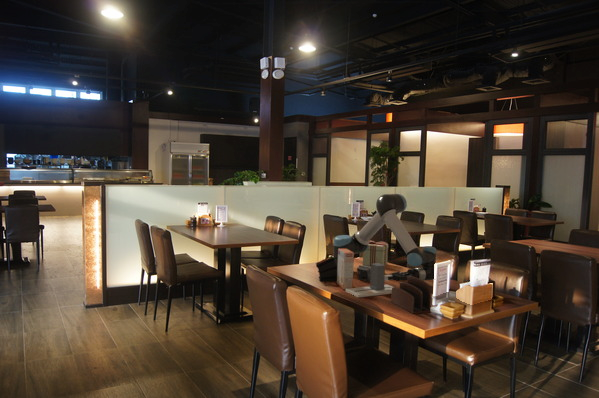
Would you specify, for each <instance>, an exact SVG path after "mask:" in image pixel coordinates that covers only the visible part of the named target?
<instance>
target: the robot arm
mask: <svg viewBox="0 0 599 398" xmlns="http://www.w3.org/2000/svg"><path fill="white" fill-rule="evenodd" d="M375 203H376V204H375V206H376V211H377V212H376V213H375V214H374V215H373V216H372V217H371V218H370V219H369V220H368V221H367V222H366V224H364V226H363V227H362V228H361V229H360V230H357V231H355V232H354V233H353V234H352V236H351V235H349V234H348V235H347V234H342V235H341V234H340V235H336V236H334V238H333V243H332V246H333V247H332V249H333V250H332V251H333V252H332V254H333V255H332V256H333V258H334V259H335V263H336V266H337V268H338V249H348V250H350V251H352V252H353V253H354V255H355V254H361V253H362V254H363V252H364V251H366V250H367V248H368V244H369V240H371V239H372V238H373V236H375V235H376V233H377V232H379V230H380V229H381V228H382V227H384V225H385V224H386V225H387V226H388V228H389V229H390V231H391V232H392V234H393V236H394V237H395V239H396V240H397V242H398V243H399V245H400V246H401V248H402V249H403V251H404V253H405V254H406V256H407V257H406V261H407V264H408V265H409V266H411V267H413V268H409V269H407V270H406V271H402V272H401V271H400V270H398V271H397V272H396V271H394V272H391V273H390V272H389V273H388V274H386V275H385V279H384V282H385V281H386V282H388V281H396V282H399V281H400V282H405V281H406V282H407V277H408V276H412V277H416V278H419V279H421V280H423V281H433V279H434V264H435V263H437V248H436V247H435V246H427V245H426V246H423V247H422V251H420V249H419V247H418V246H417V243H415V241H414V240H413V238H412V236H411V235H410V233H409V232H408V231H407V229H406V227H405V226H404V224H403V222H402V221H401V220H400V218H399V217H398V214H401V213H403V212H405V210H406V209H407V206H408V205H407V200H406V197H405V196H404V195H402V194H401V193H400V194H399V193H390V194H388V193H386V194H382V195H380V196H379V197H378V198H377V200H376V202H375ZM420 266H422V267H420ZM414 267H415V268H414ZM434 280H435V279H434Z"/></svg>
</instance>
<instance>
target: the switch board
mask: <svg viewBox="0 0 599 398" xmlns="http://www.w3.org/2000/svg"><path fill="white" fill-rule="evenodd" d="M384 287H385V289H381V290H375V289H372V288H370V287H369V286H359V287H353V288H349V289H346V290H345V293H348V294H349V293H350V294H349V295H351V294H352V295H351V296H353V295H354V297H356V298H364V297H365V298H366V297H375V296H380V295H381V296H383V295H389V294H391V295H392V288H393V287H394V286H393V285H390V284H388V283H386V284H384Z"/></svg>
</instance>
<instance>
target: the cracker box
mask: <svg viewBox="0 0 599 398" xmlns="http://www.w3.org/2000/svg"><path fill="white" fill-rule="evenodd" d="M354 261H355V254H354V253H353V252H352V251H350V250H348V249H338V268H337V281H336V284H337V285H338V286H339V287H340V288H341V290H345V291H346V289H349V288H354V287H353V285H354V284H353V283H354V266H355V265H354V263H355V262H354Z"/></svg>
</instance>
